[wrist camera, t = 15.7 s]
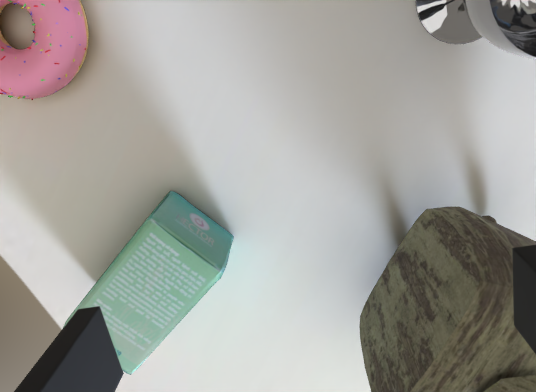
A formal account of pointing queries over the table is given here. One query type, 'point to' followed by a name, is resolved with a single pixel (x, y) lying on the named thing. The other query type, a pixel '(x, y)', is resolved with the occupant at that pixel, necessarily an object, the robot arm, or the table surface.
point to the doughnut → (45, 49)
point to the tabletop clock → (448, 310)
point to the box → (159, 278)
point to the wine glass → (482, 23)
